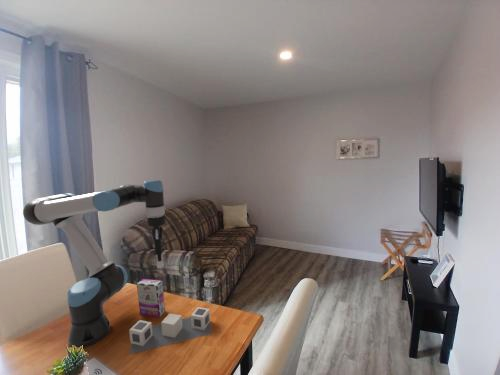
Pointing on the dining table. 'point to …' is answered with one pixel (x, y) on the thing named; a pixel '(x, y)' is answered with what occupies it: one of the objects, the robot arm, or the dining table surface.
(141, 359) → the dining table surface
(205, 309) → the marked block
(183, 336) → the grey mat
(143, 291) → the candy bar box
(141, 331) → the marked block
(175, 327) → the plain block
